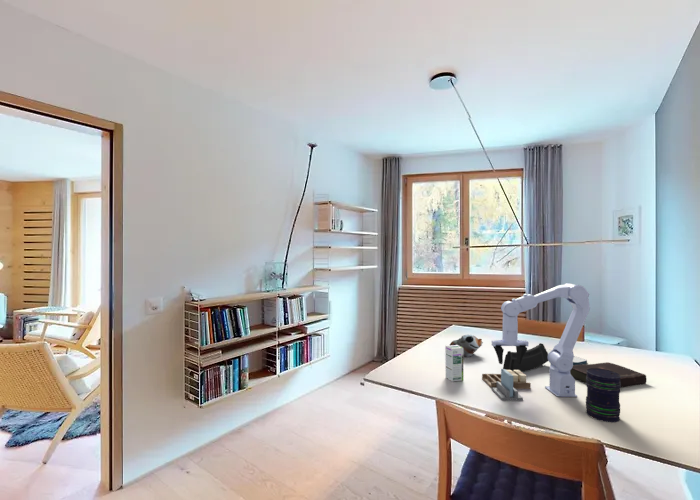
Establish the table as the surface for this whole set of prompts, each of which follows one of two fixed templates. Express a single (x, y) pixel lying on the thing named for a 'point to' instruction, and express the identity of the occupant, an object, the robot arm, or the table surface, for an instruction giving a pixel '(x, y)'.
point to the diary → (626, 375)
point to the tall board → (507, 380)
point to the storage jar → (603, 395)
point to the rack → (493, 378)
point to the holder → (506, 393)
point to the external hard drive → (574, 359)
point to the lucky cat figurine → (468, 344)
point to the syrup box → (454, 362)
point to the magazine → (526, 359)
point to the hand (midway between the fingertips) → (509, 363)
